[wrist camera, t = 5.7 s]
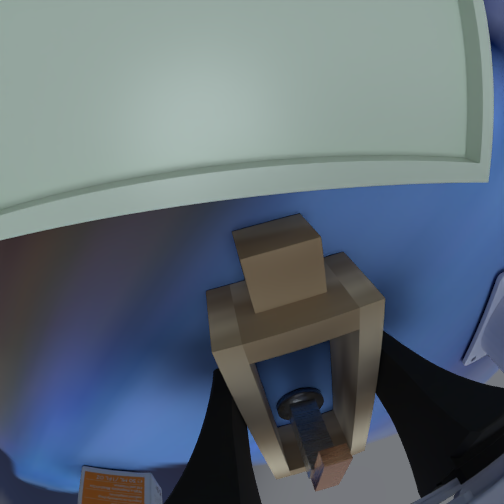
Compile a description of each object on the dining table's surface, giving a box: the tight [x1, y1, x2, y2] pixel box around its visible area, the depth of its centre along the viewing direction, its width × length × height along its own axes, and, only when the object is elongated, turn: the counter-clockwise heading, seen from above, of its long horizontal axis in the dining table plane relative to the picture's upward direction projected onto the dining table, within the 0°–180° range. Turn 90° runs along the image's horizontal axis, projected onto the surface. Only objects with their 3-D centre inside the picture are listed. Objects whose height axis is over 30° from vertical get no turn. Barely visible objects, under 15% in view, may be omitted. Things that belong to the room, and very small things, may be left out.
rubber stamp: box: [277, 388, 353, 491], centre depth 13 cm, size 3×4×5 cm, turn 4°
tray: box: [0, 0, 494, 240], centre depth 7 cm, size 20×10×2 cm, turn 94°
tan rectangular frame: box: [206, 214, 385, 479], centre depth 12 cm, size 14×5×3 cm, turn 12°
